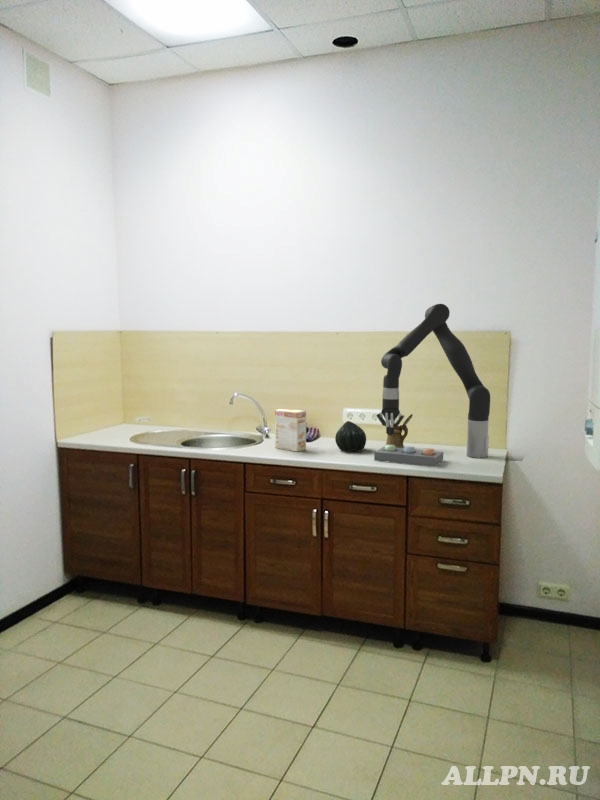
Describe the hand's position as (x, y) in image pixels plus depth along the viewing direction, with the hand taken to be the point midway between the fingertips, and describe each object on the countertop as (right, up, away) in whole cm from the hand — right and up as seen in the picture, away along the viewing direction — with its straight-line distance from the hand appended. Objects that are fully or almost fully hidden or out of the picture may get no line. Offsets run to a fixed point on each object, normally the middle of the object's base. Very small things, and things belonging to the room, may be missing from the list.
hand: (390, 435), depth 282 cm
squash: (-17, -9, +20) cm, 27 cm away
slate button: (+8, -9, -3) cm, 12 cm away
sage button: (0, -8, +1) cm, 8 cm away
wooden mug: (+8, -8, +23) cm, 26 cm away
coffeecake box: (-46, -8, +23) cm, 52 cm away
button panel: (+8, -11, -3) cm, 14 cm away
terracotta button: (+16, -9, -7) cm, 20 cm away
